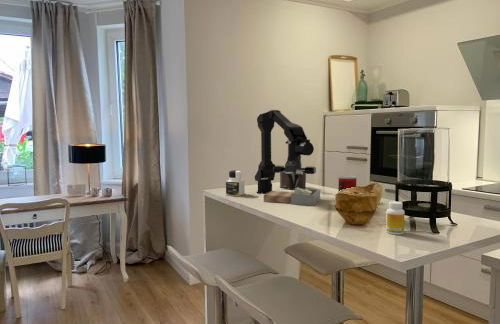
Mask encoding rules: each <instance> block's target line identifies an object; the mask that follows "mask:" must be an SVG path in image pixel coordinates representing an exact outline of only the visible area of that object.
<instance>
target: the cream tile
mask: <svg viewBox="0 0 500 324" xmlns="http://www.w3.org/2000/svg"><path fill="white" fill-rule="evenodd" d="M305 189H306V190H304V192H303V194H309V195H311V193H312V192H311V191H309V190H307V189H308V188H305Z"/></svg>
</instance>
